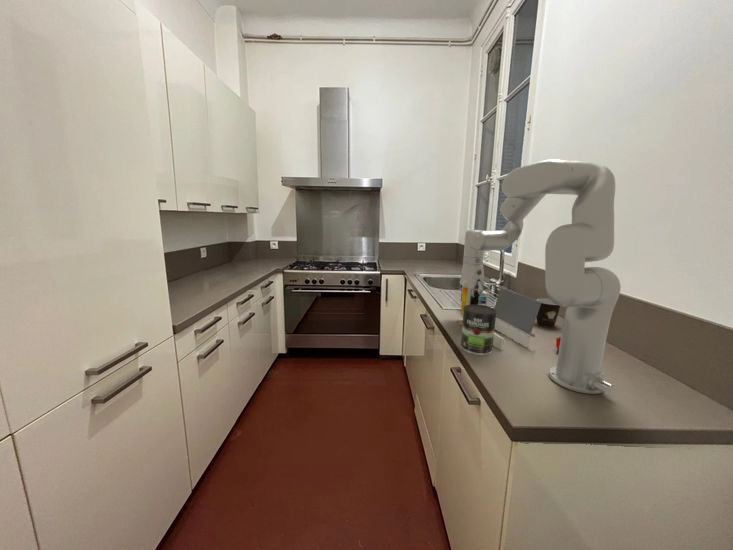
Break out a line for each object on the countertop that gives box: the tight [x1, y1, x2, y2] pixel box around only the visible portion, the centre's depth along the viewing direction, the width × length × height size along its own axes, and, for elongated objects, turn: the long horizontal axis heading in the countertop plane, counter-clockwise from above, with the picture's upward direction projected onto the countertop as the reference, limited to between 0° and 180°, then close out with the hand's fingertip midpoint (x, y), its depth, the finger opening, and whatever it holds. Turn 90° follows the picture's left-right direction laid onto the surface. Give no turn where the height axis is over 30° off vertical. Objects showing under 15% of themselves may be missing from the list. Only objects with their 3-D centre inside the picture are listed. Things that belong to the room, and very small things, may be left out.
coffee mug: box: [536, 298, 561, 328], centre depth 123 cm, size 12×9×10 cm
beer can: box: [460, 279, 477, 315], centre depth 122 cm, size 6×6×15 cm
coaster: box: [456, 317, 463, 326], centre depth 124 cm, size 9×9×1 cm
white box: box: [493, 318, 536, 351], centre depth 109 cm, size 23×12×5 cm, turn 13°
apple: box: [555, 336, 561, 351], centre depth 97 cm, size 7×7×8 cm
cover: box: [493, 287, 542, 336], centre depth 109 cm, size 20×12×1 cm
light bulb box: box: [478, 290, 489, 306], centre depth 136 cm, size 11×7×11 cm, turn 179°
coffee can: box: [459, 304, 497, 356], centre depth 98 cm, size 10×10×14 cm
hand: (469, 303), depth 122 cm, fingers closed on beer can, 6 cm apart
